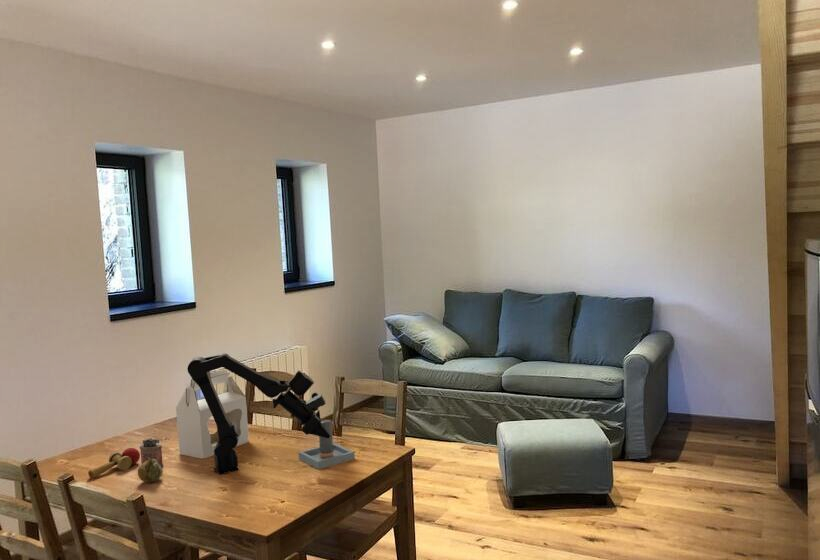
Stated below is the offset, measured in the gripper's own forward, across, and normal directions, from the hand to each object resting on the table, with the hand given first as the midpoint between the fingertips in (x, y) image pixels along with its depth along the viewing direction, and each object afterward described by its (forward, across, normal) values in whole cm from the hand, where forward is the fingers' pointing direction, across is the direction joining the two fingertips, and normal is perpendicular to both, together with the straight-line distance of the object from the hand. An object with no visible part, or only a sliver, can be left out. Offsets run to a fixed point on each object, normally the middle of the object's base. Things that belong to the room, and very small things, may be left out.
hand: (329, 434), depth 230 cm
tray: (+5, 0, +7) cm, 9 cm away
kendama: (-45, +12, +58) cm, 75 cm away
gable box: (-23, +27, +36) cm, 50 cm away
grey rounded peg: (+4, 0, +6) cm, 8 cm away
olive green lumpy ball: (-35, -3, +47) cm, 59 cm away
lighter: (-37, +11, +49) cm, 63 cm away
